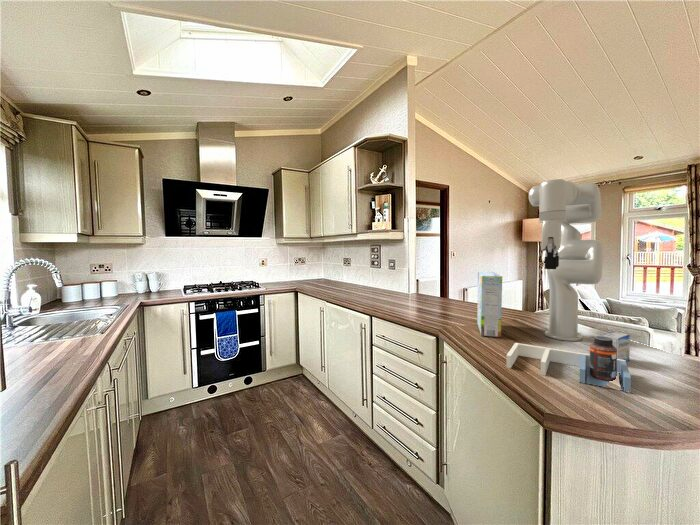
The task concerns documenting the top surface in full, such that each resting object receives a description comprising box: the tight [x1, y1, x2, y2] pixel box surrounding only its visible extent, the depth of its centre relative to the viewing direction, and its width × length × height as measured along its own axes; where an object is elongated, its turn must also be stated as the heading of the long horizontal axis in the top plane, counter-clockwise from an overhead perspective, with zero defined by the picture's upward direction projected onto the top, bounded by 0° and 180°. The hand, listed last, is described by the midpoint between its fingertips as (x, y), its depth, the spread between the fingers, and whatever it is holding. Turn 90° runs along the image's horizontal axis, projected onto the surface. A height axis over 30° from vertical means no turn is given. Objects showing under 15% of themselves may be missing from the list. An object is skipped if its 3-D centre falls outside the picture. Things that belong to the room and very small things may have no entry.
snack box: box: [476, 271, 503, 338], centre depth 135 cm, size 22×9×26 cm, turn 161°
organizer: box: [505, 342, 632, 392], centre depth 92 cm, size 15×29×4 cm, turn 52°
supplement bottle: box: [589, 335, 617, 381], centre depth 86 cm, size 6×6×11 cm
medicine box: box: [601, 331, 631, 362], centre depth 97 cm, size 8×4×9 cm, turn 117°
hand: (551, 267), depth 103 cm, fingers open, 9 cm apart
